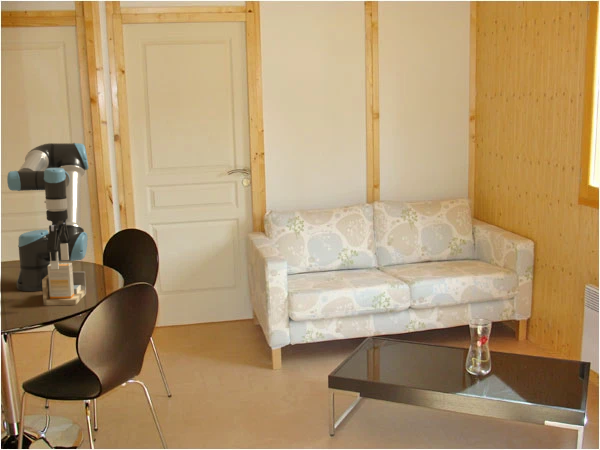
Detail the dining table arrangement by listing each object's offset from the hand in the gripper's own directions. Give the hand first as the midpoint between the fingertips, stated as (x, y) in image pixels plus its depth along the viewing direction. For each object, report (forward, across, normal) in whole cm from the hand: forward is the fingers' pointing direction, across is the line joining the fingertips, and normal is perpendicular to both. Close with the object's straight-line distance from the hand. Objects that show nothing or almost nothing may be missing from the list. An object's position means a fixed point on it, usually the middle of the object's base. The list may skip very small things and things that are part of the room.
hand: (60, 264), depth 266 cm
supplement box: (+13, +1, 0) cm, 13 cm away
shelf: (+15, -3, 0) cm, 15 cm away
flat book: (+13, -7, +1) cm, 15 cm away
